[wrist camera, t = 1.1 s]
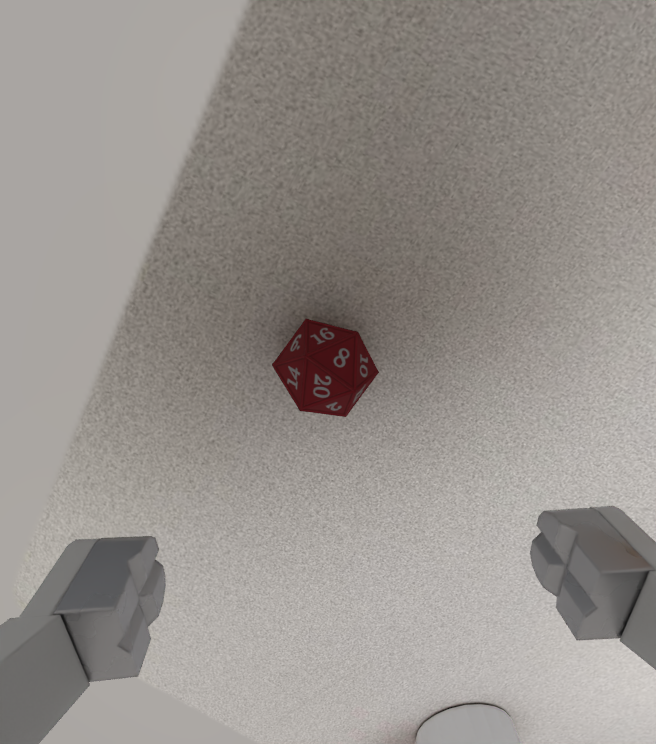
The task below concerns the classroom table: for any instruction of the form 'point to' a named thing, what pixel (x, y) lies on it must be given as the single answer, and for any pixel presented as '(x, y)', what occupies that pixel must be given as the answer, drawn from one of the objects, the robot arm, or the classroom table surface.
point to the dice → (325, 368)
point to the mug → (469, 727)
